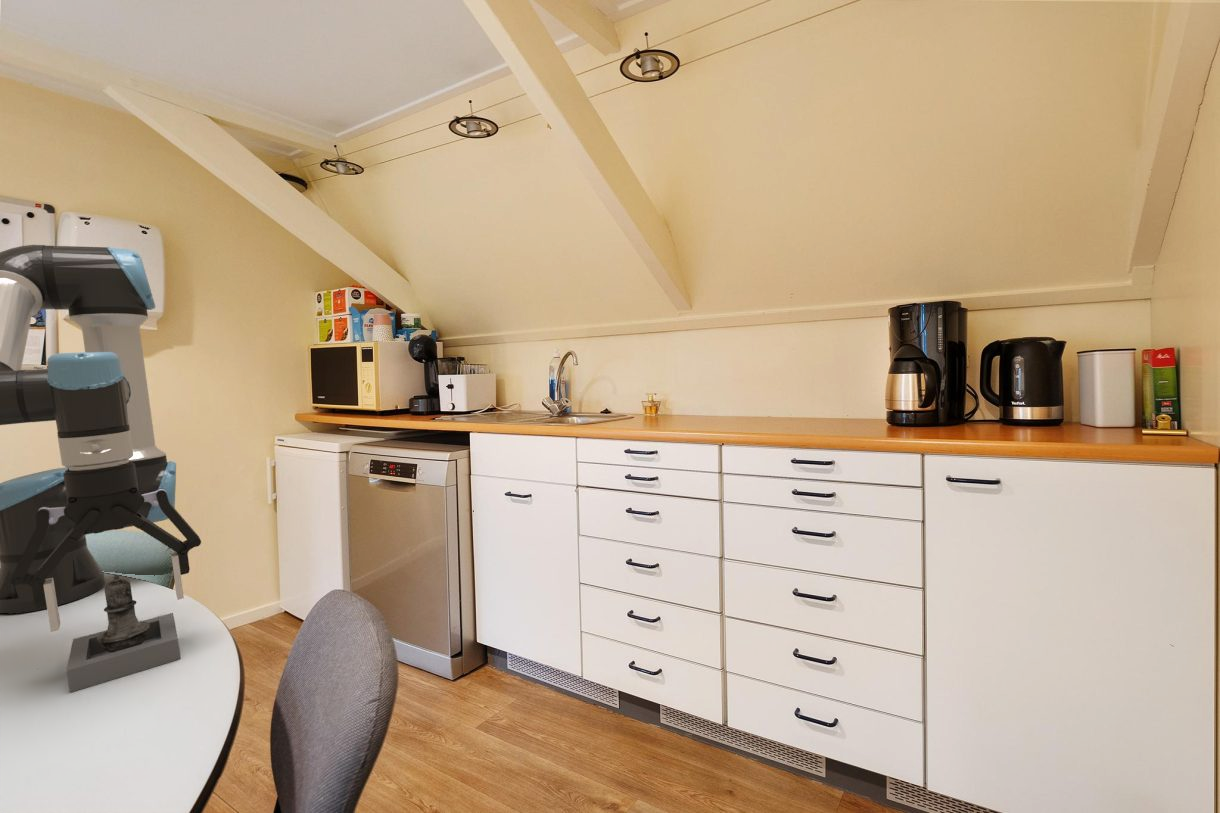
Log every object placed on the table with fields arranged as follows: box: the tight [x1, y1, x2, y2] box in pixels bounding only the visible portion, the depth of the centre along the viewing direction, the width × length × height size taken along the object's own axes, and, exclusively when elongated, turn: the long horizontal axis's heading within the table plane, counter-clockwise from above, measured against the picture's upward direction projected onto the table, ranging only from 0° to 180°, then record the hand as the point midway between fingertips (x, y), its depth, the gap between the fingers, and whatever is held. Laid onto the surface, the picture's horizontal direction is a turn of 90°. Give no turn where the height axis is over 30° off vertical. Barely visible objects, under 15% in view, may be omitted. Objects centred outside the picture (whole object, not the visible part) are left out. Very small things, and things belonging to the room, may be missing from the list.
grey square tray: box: [66, 612, 181, 693], centre depth 84 cm, size 12×12×3 cm
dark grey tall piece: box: [97, 573, 150, 653], centre depth 83 cm, size 6×6×12 cm
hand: (121, 611), depth 83 cm, fingers open, 13 cm apart
